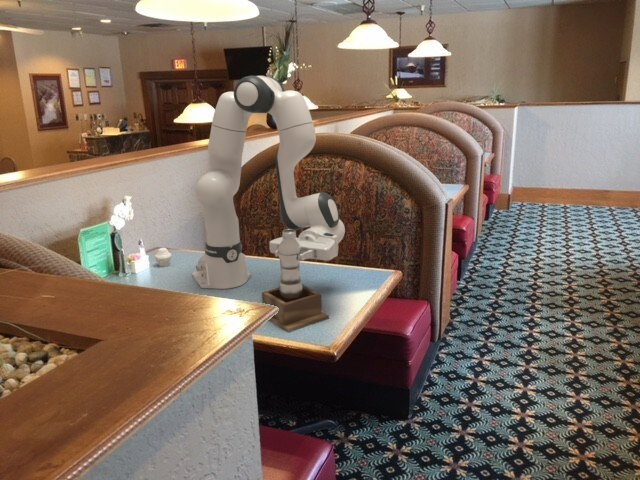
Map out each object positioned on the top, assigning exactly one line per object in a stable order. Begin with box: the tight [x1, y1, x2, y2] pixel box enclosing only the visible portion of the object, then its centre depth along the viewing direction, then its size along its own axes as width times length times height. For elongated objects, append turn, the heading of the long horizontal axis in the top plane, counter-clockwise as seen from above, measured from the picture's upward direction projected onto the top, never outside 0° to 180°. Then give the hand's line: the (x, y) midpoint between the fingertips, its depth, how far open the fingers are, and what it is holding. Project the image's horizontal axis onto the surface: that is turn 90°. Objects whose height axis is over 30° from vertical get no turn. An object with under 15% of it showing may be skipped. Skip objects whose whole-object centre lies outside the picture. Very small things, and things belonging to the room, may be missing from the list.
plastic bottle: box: [278, 228, 303, 299], centre depth 155 cm, size 6×7×20 cm
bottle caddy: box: [261, 284, 330, 333], centre depth 158 cm, size 17×14×7 cm
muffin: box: [154, 247, 172, 267], centre depth 206 cm, size 6×6×7 cm
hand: (288, 256), depth 153 cm, fingers closed on plastic bottle, 6 cm apart
